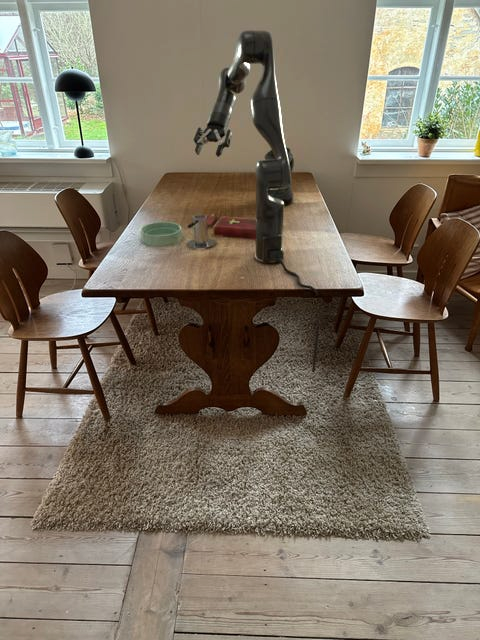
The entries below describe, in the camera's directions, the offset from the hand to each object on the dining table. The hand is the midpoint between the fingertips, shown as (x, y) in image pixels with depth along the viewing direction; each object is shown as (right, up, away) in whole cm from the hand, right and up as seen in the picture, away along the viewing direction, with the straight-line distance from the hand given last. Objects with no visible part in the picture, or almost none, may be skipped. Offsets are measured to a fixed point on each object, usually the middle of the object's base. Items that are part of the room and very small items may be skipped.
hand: (207, 154), depth 170 cm
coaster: (-2, -34, 0) cm, 34 cm away
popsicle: (-1, -21, +21) cm, 30 cm away
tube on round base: (-3, -35, -3) cm, 35 cm away
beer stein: (+30, -5, +46) cm, 55 cm away
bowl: (-18, -31, +4) cm, 36 cm away
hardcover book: (+14, -28, +10) cm, 32 cm away
